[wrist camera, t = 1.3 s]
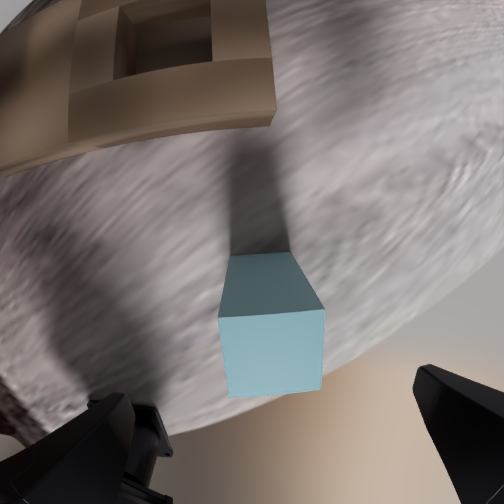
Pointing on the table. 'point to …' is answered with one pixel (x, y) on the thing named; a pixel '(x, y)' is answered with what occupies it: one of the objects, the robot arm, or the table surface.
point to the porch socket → (130, 75)
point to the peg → (270, 327)
